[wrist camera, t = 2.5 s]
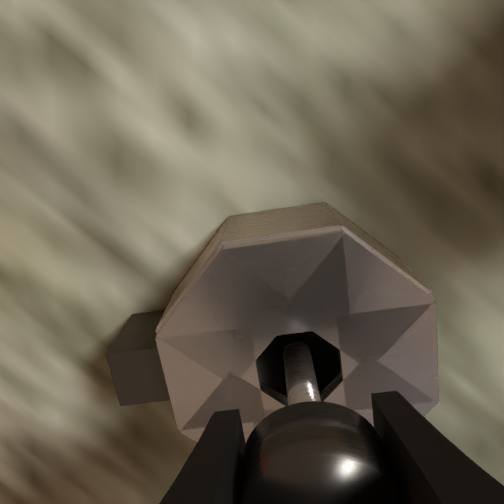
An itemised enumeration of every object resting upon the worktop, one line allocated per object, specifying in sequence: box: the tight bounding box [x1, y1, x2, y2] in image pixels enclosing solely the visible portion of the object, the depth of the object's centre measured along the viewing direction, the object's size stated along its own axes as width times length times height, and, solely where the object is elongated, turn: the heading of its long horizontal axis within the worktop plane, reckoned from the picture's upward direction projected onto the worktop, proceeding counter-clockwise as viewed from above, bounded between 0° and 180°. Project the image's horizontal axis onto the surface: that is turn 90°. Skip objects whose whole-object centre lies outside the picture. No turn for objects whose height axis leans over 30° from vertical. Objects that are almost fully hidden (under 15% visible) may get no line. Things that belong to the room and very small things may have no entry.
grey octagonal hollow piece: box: [106, 202, 439, 442], centre depth 15 cm, size 9×10×4 cm
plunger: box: [241, 341, 405, 504], centre depth 11 cm, size 3×3×6 cm
